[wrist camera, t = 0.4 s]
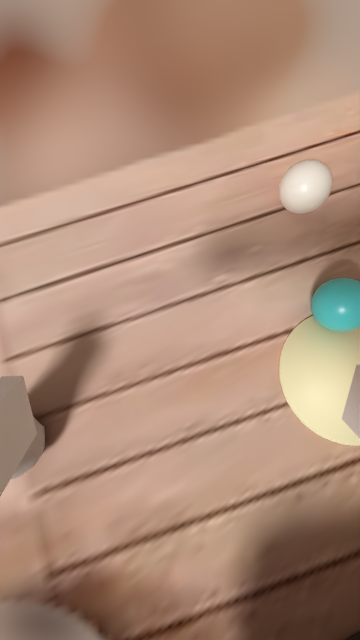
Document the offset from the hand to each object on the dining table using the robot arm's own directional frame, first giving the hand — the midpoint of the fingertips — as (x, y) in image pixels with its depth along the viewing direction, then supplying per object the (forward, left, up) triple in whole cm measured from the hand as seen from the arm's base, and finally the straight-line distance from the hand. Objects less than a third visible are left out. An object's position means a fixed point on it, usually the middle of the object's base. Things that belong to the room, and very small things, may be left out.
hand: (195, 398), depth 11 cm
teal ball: (+5, -17, -15) cm, 23 cm away
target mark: (-2, -17, -18) cm, 24 cm away
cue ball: (+19, -17, -15) cm, 30 cm away
